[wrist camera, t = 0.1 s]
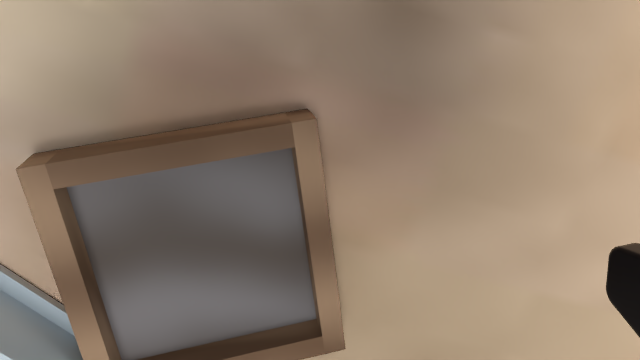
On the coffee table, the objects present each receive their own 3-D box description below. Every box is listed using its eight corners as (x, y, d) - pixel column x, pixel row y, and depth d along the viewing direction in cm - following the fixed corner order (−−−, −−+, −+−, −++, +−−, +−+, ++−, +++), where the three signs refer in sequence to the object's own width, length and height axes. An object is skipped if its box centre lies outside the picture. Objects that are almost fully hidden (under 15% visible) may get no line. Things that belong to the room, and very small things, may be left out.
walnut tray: (335, 324, 26) (345, 348, 24) (108, 376, 24) (99, 407, 22) (307, 108, 22) (316, 118, 20) (33, 153, 20) (16, 168, 19)
